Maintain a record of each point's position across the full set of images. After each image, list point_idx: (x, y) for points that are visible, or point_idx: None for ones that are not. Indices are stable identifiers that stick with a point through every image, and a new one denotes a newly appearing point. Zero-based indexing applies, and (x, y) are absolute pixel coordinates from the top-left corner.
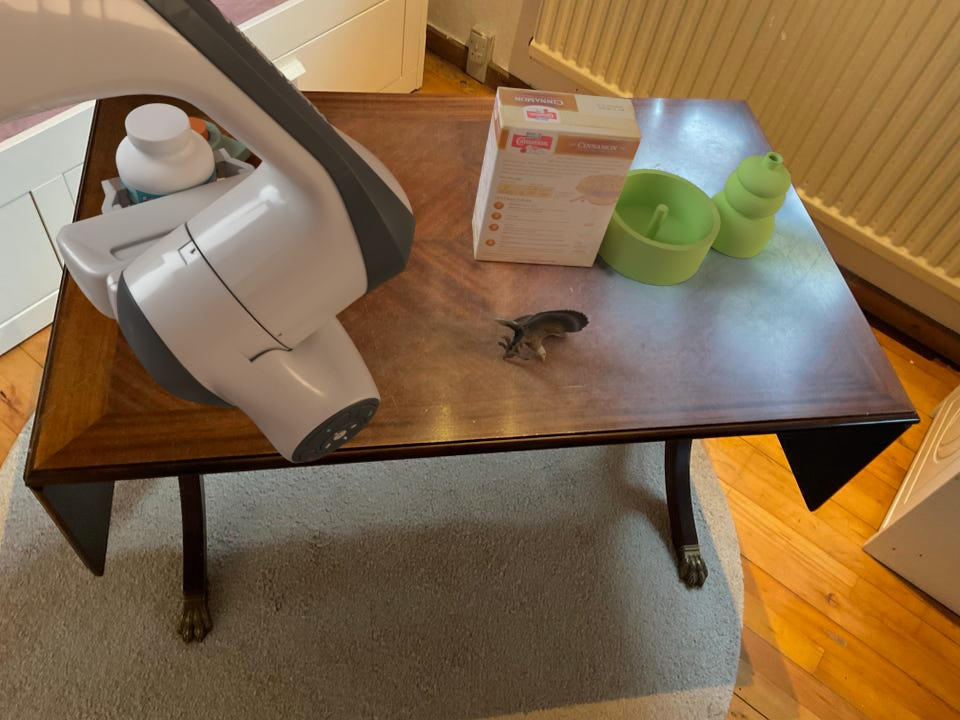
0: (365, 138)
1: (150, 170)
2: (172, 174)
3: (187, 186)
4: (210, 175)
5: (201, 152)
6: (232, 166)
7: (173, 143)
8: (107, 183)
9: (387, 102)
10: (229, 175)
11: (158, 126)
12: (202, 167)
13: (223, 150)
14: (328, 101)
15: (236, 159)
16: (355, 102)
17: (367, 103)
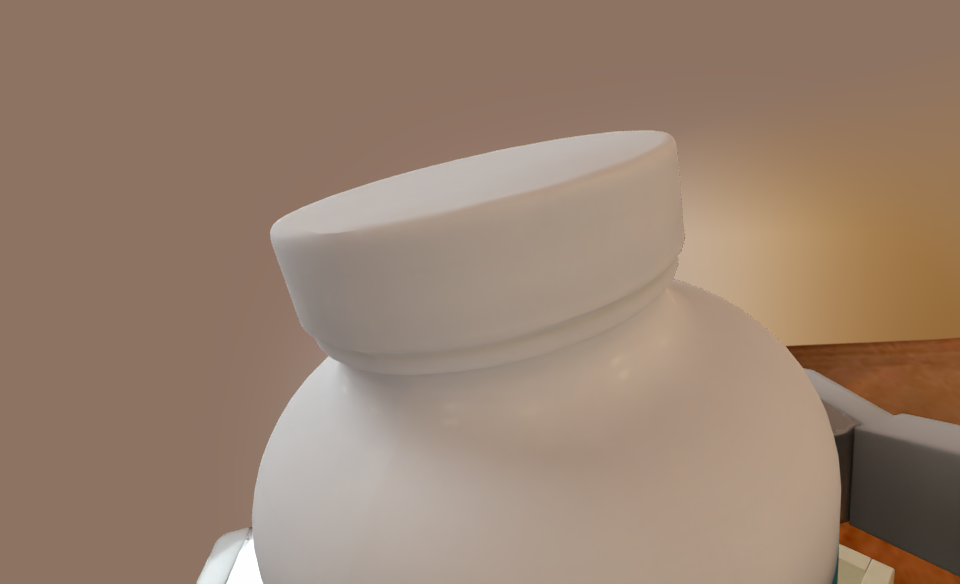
0: (915, 396)
1: (355, 509)
2: (522, 568)
3: None
4: (837, 549)
5: (758, 362)
6: (923, 466)
7: (545, 251)
8: (226, 552)
9: (921, 340)
10: (873, 517)
11: (461, 183)
12: (801, 488)
13: (813, 377)
14: (810, 346)
15: (938, 421)
16: (859, 344)
17: (882, 344)
